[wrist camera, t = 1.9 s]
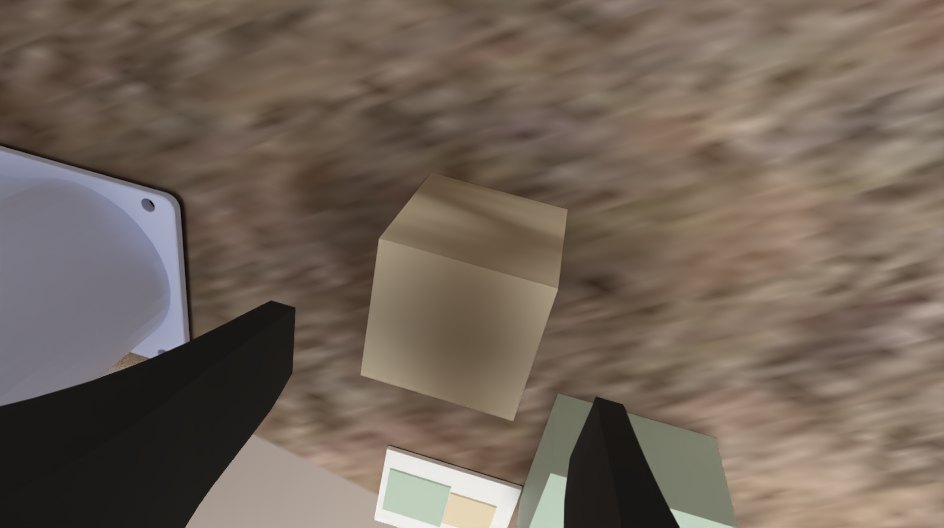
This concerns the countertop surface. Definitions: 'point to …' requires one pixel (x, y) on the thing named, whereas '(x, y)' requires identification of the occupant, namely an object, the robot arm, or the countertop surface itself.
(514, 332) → the maple block
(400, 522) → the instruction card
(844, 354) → the countertop surface
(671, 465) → the sage base block
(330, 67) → the countertop surface
